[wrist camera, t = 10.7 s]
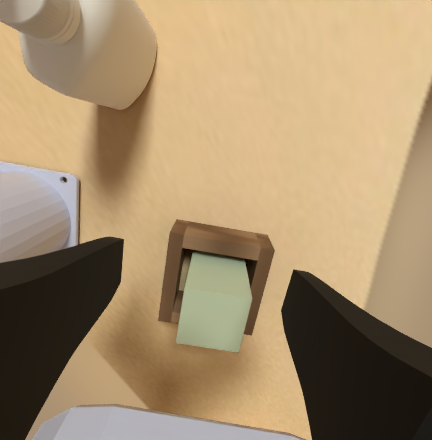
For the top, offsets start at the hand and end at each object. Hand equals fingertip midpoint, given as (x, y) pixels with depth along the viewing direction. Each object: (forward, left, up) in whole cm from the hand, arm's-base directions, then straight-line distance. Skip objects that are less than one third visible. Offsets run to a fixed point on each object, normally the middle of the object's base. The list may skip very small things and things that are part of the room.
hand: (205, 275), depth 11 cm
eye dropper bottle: (-7, +9, -11) cm, 16 cm away
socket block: (+1, -5, -10) cm, 12 cm away
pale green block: (+1, -5, -11) cm, 12 cm away
